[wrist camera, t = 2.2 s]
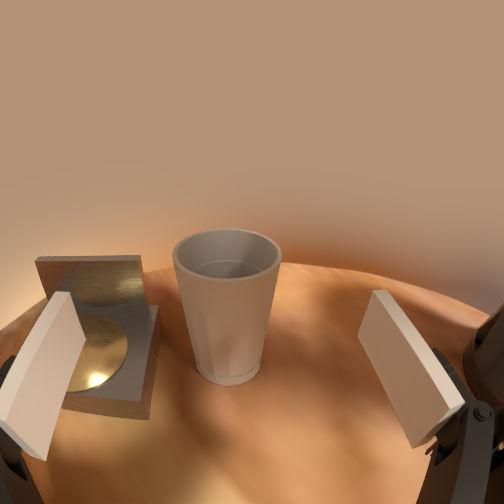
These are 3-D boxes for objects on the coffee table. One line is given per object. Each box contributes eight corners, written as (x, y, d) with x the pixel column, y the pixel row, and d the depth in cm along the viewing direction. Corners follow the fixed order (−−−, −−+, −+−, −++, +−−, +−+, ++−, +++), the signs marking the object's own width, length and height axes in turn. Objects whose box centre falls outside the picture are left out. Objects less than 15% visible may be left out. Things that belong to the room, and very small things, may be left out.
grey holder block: (162, 326, 31) (150, 254, 27) (148, 420, 21) (119, 348, 16) (53, 321, 29) (30, 256, 25) (16, 397, 19) (-29, 328, 15)
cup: (174, 381, 25) (152, 269, 19) (202, 326, 32) (195, 223, 26) (261, 400, 23) (273, 289, 18) (274, 339, 30) (287, 234, 25)
